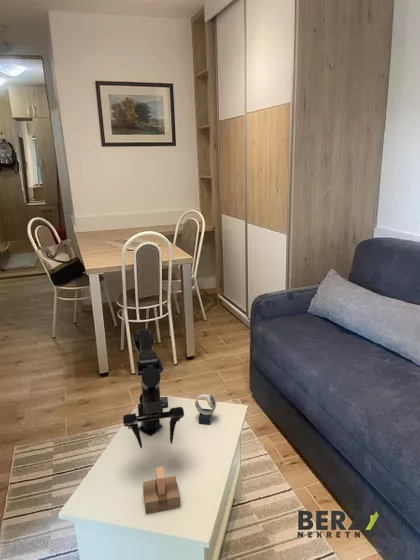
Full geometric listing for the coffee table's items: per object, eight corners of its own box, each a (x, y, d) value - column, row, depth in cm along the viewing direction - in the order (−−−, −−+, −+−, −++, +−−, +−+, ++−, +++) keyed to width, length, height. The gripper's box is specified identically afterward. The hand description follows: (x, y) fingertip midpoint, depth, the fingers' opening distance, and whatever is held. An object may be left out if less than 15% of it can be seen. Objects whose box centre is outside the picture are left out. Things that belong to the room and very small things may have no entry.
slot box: (143, 492, 124) (142, 481, 123) (175, 486, 126) (175, 475, 125) (145, 514, 117) (145, 503, 116) (180, 507, 119) (180, 496, 118)
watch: (215, 425, 154) (215, 400, 150) (194, 423, 155) (193, 398, 152) (217, 416, 159) (217, 392, 156) (197, 414, 160) (196, 390, 157)
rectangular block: (157, 494, 123) (155, 467, 120) (163, 493, 124) (162, 466, 121) (158, 506, 119) (157, 479, 116) (165, 504, 120) (164, 477, 117)
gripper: (121, 392, 122) (125, 448, 115) (182, 384, 126) (189, 437, 120) (121, 400, 132) (125, 451, 125) (178, 392, 136) (185, 442, 129)
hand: (156, 445), depth 124 cm, fingers open, 9 cm apart
